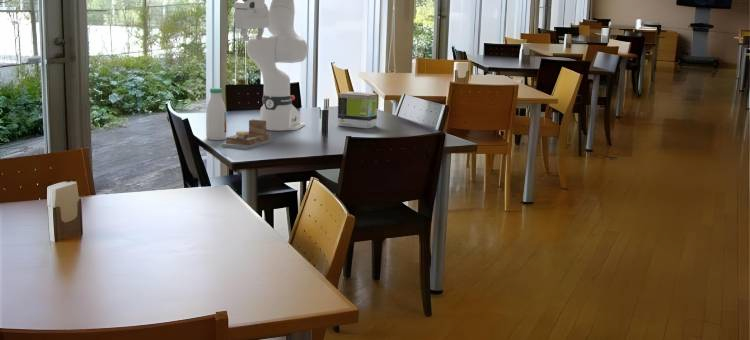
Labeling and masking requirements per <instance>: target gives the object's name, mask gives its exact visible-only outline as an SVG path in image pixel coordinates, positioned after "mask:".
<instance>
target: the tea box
mask: <svg viewBox="0 0 750 340" xmlns="http://www.w3.org/2000/svg"><path fill="white" fill-rule="evenodd" d="M377 121H378V93H377V92H376V93H374V92H373V93H372V92H362V91H361V92H360V91H344V92H343V91H342V92H339V93H337V126H340V127H348V128H349V127H350V128H358V129H359V128H360V129H370V128H375V127H376V126H377V124H378V123H377Z"/></svg>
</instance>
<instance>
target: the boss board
mask: <svg viewBox="0 0 750 340" xmlns="http://www.w3.org/2000/svg"><path fill="white" fill-rule="evenodd" d="M247 132H248V131H245V130H238V131H235V133H236V134H235V135H239V138H242V139H243V138H244V135H247ZM269 143H273V138H272V137H271V139H269V140H266V141H262V142H259V143H255V144H252V145H241V144H233V143H226V142H224V143H222V144H221V145H222V148H228V149H237V150H249V149H252V148H255V147H259V146H262V145H266V144H269Z"/></svg>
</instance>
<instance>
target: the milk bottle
mask: <svg viewBox="0 0 750 340" xmlns="http://www.w3.org/2000/svg"><path fill="white" fill-rule="evenodd" d="M209 92H210V93H209V94H210V98H209V101H208V104H207V105H206V117H205V118H206V119H205V120H206V121H205V123H206V126H205V130H206V133H205V134H206V136H205V137H206V139H207V140H210V141H223V140H226V137H227V109H226V105H225V102H224V101H223V97H222V94H223V89H222V88H221V87H211V88H210V89H209Z"/></svg>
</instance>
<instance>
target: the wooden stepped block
mask: <svg viewBox="0 0 750 340" xmlns="http://www.w3.org/2000/svg"><path fill="white" fill-rule="evenodd" d="M246 132H247V135H244V138H243V139H242V138H239V135H236V134H234V135H231V136H226V139H225V143H233V144H241V145H252V144H255V143H259V142H262V141H266V140H269V139H271V138H272V137H271V136H272V135H271V133H267V130H266V121H263V120H260V119H249V120H248V131H246Z"/></svg>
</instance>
